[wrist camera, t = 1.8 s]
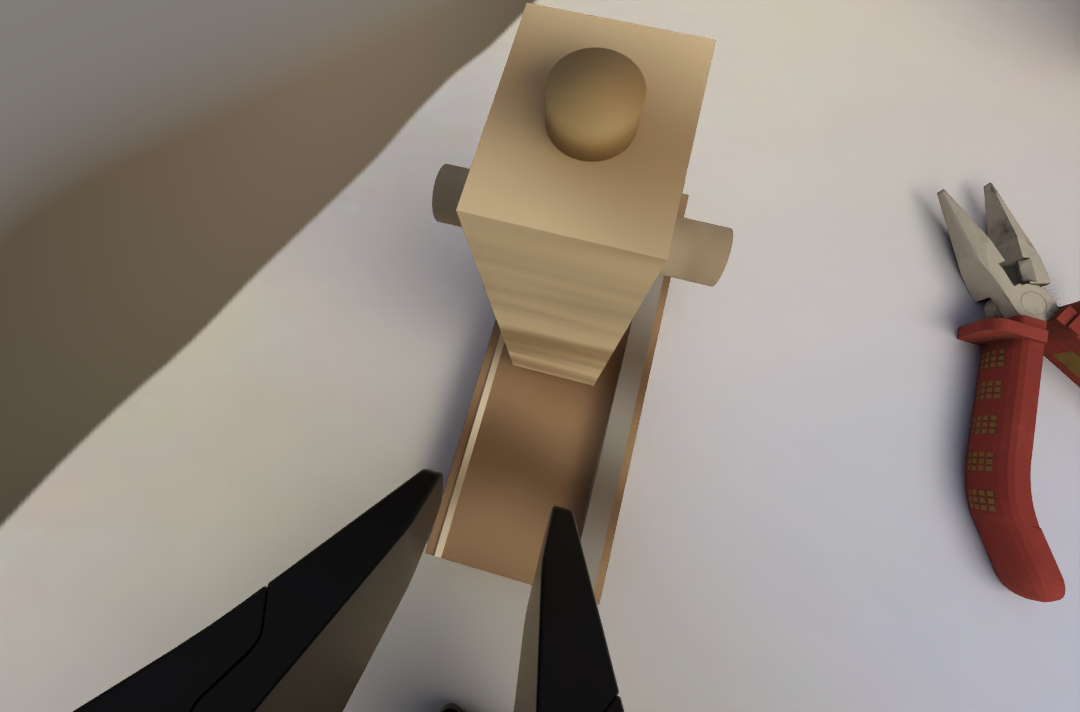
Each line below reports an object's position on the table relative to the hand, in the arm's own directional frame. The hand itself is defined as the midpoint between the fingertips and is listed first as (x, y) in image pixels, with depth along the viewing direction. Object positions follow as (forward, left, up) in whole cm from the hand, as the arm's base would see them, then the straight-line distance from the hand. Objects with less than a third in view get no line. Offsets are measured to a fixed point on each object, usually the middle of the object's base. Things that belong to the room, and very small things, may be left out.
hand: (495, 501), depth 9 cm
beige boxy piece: (+7, +3, -12) cm, 14 cm away
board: (+6, +2, -14) cm, 15 cm away
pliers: (+19, -20, -14) cm, 31 cm away
